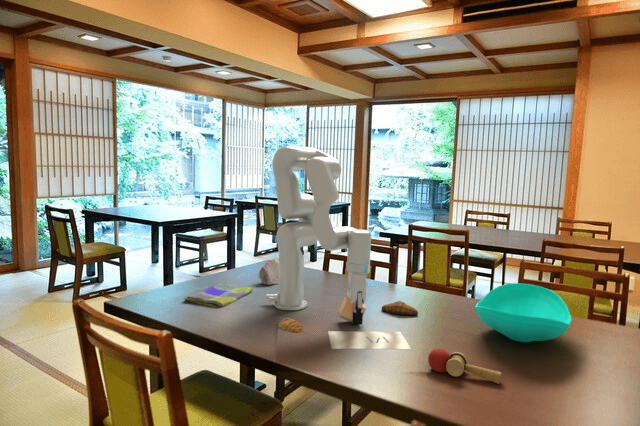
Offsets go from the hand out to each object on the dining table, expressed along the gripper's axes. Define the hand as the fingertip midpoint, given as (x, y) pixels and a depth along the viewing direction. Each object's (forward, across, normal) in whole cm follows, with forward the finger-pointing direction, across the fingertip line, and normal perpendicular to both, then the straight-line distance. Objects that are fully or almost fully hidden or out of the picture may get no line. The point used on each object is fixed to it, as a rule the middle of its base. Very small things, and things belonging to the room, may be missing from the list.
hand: (356, 320), depth 143 cm
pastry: (+3, +4, -21) cm, 22 cm away
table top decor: (+3, +8, +52) cm, 53 cm away
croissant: (+3, -14, +18) cm, 23 cm away
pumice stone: (+3, -55, -30) cm, 63 cm away
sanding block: (-1, 0, -3) cm, 3 cm away
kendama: (+3, +33, +23) cm, 41 cm away
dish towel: (+3, -32, -50) cm, 60 cm away
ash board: (+2, +14, +2) cm, 14 cm away
